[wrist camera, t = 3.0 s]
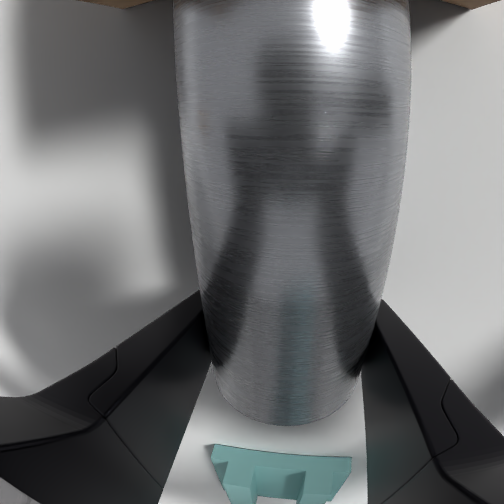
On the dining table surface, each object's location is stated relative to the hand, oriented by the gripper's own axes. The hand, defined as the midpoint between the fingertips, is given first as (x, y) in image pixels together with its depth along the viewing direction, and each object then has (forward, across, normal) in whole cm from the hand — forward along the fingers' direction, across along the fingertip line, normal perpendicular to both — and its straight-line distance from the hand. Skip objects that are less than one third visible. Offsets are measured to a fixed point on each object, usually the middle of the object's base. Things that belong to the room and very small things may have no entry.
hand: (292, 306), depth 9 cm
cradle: (+1, 0, +16) cm, 16 cm away
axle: (+1, 0, -6) cm, 6 cm away
